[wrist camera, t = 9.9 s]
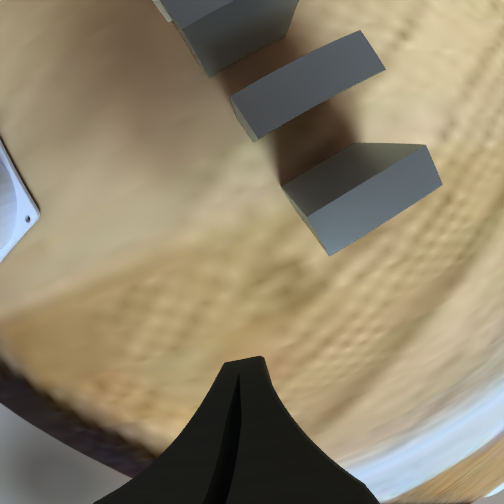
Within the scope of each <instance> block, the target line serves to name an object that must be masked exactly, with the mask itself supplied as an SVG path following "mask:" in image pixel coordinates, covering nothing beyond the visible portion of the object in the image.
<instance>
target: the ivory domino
mask: <svg viewBox="0 0 504 504" xmlns="http://www.w3.org/2000/svg"><path fill="white" fill-rule="evenodd" d="M152 1H153V3H154V4H155V6H156V7H157V8H158V10H159V11H160V12H161V14H162V15H163V16H164V18H165V19H166V20H167V22H168V23H169V22H171V21H172V19H171V18H170V16H169V14H168V13H167V11H166V10H165V8H164V6H163V5H162V3H161V2H160V0H152Z"/></svg>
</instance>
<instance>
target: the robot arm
mask: <svg viewBox="0 0 504 504" xmlns="http://www.w3.org/2000/svg"><path fill="white" fill-rule="evenodd" d="M28 216H29V217H30V221H29V219H28ZM39 217H40V212H39V209H38V208H37V206H36V204H35V203H34V201H33V199H32V198H31V196H30V194H29V192H28V191H27V189H26V187H25V185H24V184H23V182H22V180H21V178H20V177H19V175H18V173H17V171H16V169H15V167H14V165H13V163H12V162H11V160H10V158H9V156H8V154H7V152H6V150H5V148H4V146H3V144H2V142H1V140H0V262H1V261H2V260H3V258H4V257H5V256H6V255H7V254H8V252H9V251H10V250H11V249H12V248H13V247H14V245H15V244H16V243H17V242H18V241H19V240H20V239H21V238H22V236H23V235H24V234H25V233H26V232H27V231H28V230H29V229H30V228H31V227H32V225H33V224H34V223H35V222H36V221H37V220H38V219H39ZM93 504H380V503H379V501H378V500H377V499H376V498H375V496H374V495H373V494H372V493H371V491H370V490H369V489H368V488H367V487H366V485H365V484H364V483H363V482H361V481H360V480H358V479H357V478H355V477H354V476H352V475H351V474H350V473H348V472H347V471H345V470H344V469H343V468H342V467H340V466H339V465H338V464H337V463H335V462H334V461H333V460H332V459H331V458H329V457H328V456H327V455H326V454H325V453H324V452H323V451H322V450H321V449H320V448H319V447H318V446H317V445H316V444H315V443H314V442H313V441H312V440H311V439H310V438H309V437H308V436H307V435H306V434H305V433H304V431H303V430H302V429H301V428H300V427H299V426H298V424H297V423H296V422H295V421H294V419H293V418H292V417H291V415H290V414H289V412H288V411H287V409H286V408H285V406H284V405H283V403H282V402H281V400H280V399H279V397H278V395H277V393H276V391H275V390H274V388H273V386H272V382H271V379H270V376H269V372H268V369H267V366H266V362H265V359H264V357H262V356H256V357H251V358H246V359H241V360H236V361H231V362H225V363H224V364H223V366H222V368H221V370H220V372H219V373H218V375H217V377H216V379H215V381H214V383H213V385H212V386H211V388H210V390H209V392H208V393H207V395H206V397H205V398H204V400H203V402H202V403H201V405H200V407H199V408H198V410H197V411H196V412H195V414H194V415H193V417H192V418H191V420H190V421H189V423H188V424H187V425H186V427H185V428H184V429H183V431H182V432H181V433H180V434H179V436H178V437H177V438H176V439H175V440H174V441H173V443H172V444H171V445H170V446H169V447H168V448H167V449H166V450H165V451H164V452H163V453H162V454H161V455H160V456H159V457H158V458H157V459H156V460H154V461H153V462H152V463H151V464H150V465H149V466H148V467H147V468H146V469H144V470H143V471H142V472H141V473H139V474H138V475H137V476H136V477H134V478H133V479H132V480H130V481H129V482H127V483H126V484H124V485H123V486H121V487H120V488H118V489H117V490H115V491H113V492H112V493H110V494H108V495H106V496H105V497H103V498H101V499H100V500H98V501H96V502H94V503H93Z"/></svg>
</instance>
